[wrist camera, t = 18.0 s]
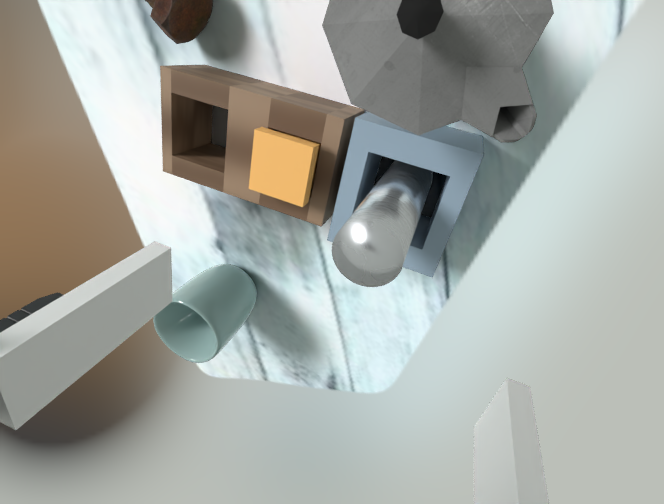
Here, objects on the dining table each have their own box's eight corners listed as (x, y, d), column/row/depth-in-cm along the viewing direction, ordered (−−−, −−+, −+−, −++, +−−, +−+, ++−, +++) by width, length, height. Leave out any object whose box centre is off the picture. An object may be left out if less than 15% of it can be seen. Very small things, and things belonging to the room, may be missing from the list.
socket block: (205, 64, 36) (160, 65, 31) (364, 109, 33) (344, 119, 28) (202, 157, 40) (162, 171, 35) (342, 203, 37) (321, 226, 32)
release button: (291, 117, 34) (254, 129, 28) (341, 132, 33) (313, 147, 27) (284, 168, 36) (248, 188, 31) (330, 183, 35) (302, 207, 30)
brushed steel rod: (382, 190, 35) (325, 272, 22) (395, 149, 33) (340, 210, 20) (424, 203, 35) (391, 296, 21) (439, 162, 33) (413, 235, 19)
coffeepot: (564, 54, 27) (680, 48, 12) (454, 145, 32) (434, 226, 17) (420, -128, 25) (337, -414, 10) (328, -1, 30) (177, -61, 15)
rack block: (377, 106, 32) (355, 117, 26) (482, 136, 31) (484, 154, 25) (350, 211, 37) (327, 239, 31) (439, 241, 36) (432, 277, 30)
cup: (244, 319, 49) (195, 374, 41) (200, 277, 48) (141, 324, 40) (278, 289, 45) (232, 343, 36) (230, 243, 44) (172, 286, 36)
